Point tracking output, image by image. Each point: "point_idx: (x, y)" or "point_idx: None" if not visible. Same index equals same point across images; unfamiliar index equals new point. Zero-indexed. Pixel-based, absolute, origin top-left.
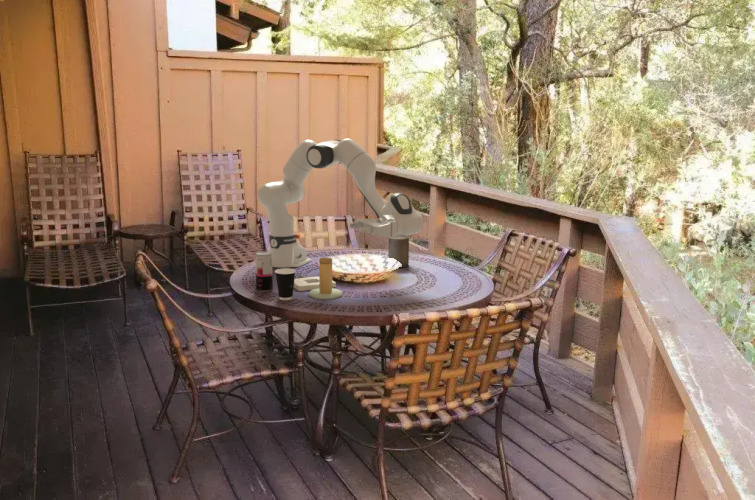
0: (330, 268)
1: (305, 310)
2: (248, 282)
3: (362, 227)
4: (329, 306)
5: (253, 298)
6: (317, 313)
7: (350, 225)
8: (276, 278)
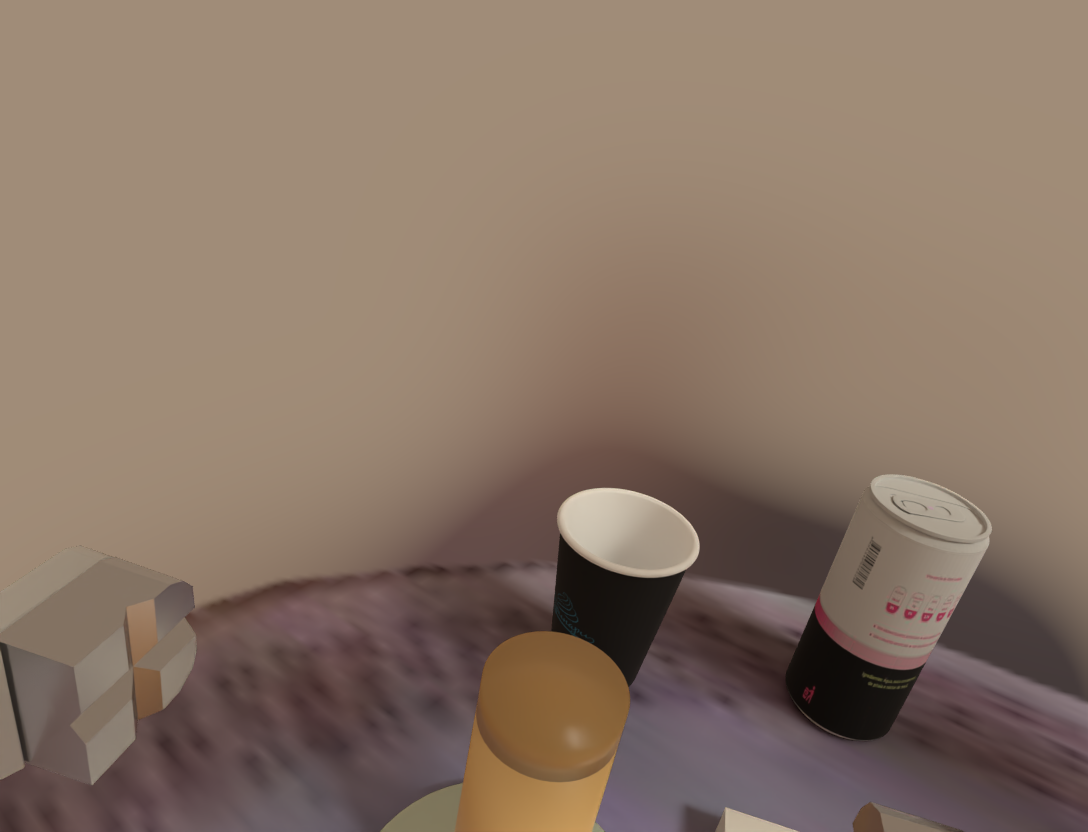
0: (469, 759)
1: (315, 609)
2: (1042, 732)
3: (55, 617)
4: (238, 740)
5: (679, 584)
6: (215, 614)
7: (865, 821)
8: (633, 536)
